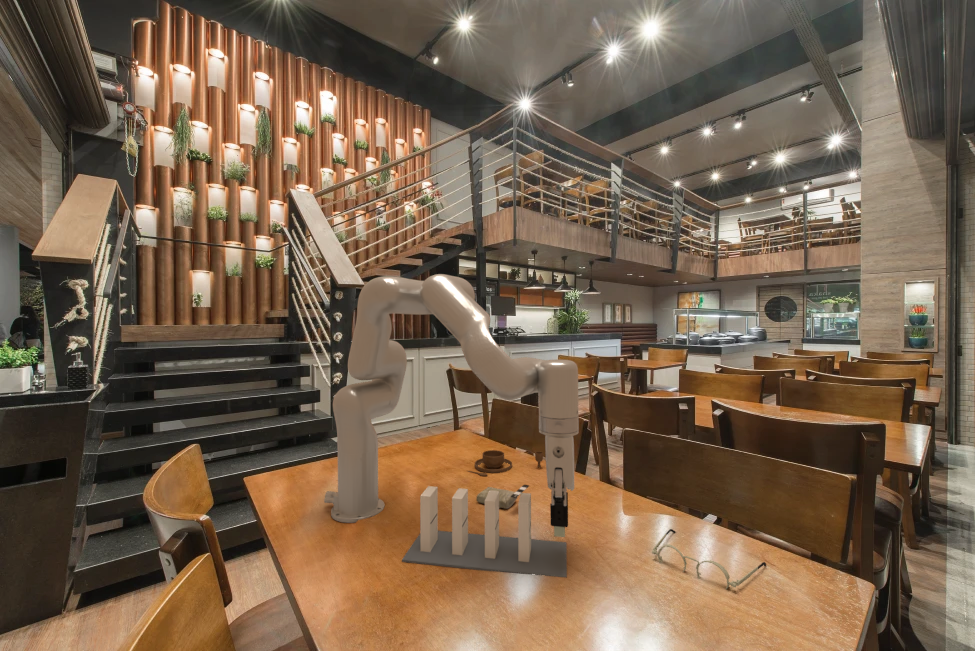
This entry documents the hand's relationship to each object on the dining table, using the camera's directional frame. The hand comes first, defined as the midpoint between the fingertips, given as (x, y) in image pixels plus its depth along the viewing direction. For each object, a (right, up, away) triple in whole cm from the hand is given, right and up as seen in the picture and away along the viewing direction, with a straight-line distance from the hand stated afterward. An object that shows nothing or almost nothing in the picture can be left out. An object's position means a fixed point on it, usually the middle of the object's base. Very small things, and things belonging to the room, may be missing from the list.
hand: (559, 517), depth 80 cm
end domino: (0, -2, 0) cm, 2 cm away
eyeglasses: (+28, -9, -1) cm, 29 cm away
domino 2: (-19, -8, +4) cm, 21 cm away
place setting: (-9, -9, +50) cm, 52 cm away
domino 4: (-7, -8, +1) cm, 10 cm away
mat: (-14, -8, +3) cm, 16 cm away
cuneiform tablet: (-5, -6, +21) cm, 23 cm away
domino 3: (-13, -8, +2) cm, 15 cm away
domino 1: (-26, -8, +5) cm, 27 cm away
